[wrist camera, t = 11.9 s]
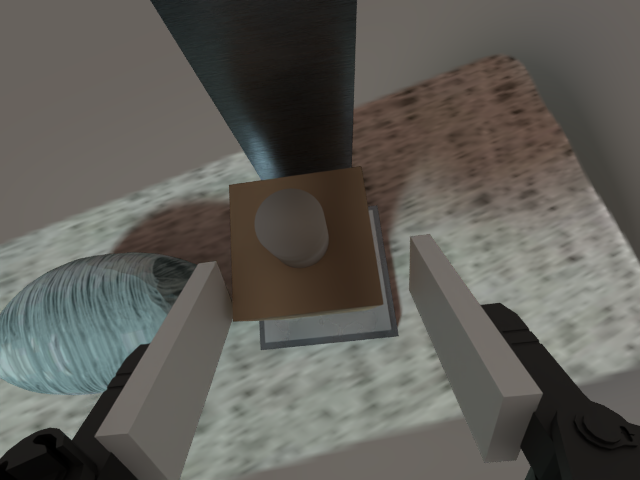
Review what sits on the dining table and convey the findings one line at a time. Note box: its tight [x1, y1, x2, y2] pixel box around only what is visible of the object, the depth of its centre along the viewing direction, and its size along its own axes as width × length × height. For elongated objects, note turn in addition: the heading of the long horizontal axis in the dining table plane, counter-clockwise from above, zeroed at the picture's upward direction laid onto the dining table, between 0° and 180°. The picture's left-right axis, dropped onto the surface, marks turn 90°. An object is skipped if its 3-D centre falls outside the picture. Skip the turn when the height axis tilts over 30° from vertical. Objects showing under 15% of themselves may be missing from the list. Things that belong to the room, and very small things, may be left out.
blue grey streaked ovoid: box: [0, 252, 197, 395], centre depth 21 cm, size 14×10×10 cm
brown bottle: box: [229, 166, 384, 322], centre depth 16 cm, size 6×6×12 cm
